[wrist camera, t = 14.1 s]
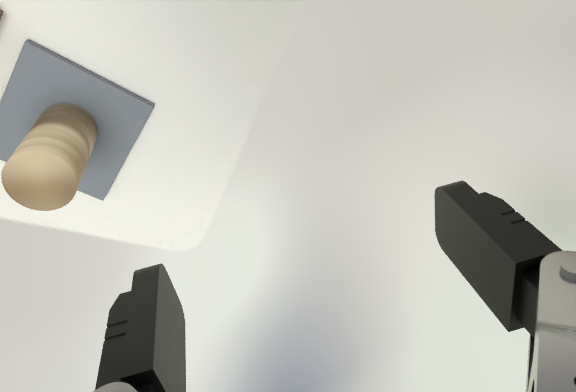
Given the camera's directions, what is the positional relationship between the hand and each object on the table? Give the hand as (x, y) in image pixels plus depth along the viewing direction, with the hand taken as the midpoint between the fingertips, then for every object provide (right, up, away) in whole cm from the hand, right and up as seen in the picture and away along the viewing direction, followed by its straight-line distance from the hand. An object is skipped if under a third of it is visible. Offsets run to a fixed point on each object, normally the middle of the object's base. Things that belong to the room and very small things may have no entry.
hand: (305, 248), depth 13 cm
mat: (-19, +7, +25) cm, 32 cm away
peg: (-18, +7, +24) cm, 31 cm away
